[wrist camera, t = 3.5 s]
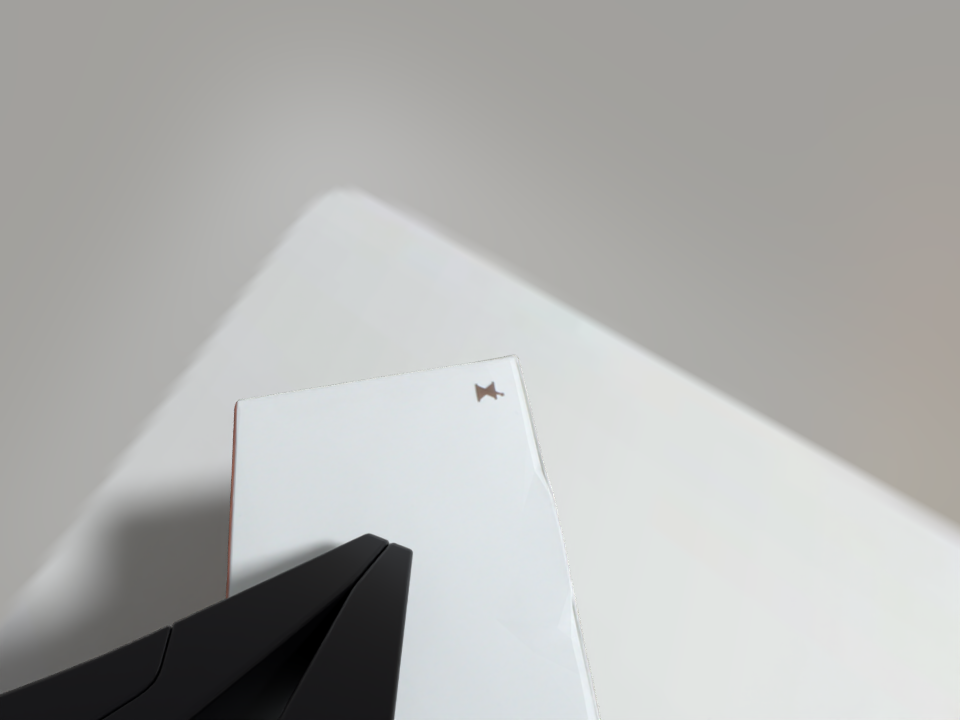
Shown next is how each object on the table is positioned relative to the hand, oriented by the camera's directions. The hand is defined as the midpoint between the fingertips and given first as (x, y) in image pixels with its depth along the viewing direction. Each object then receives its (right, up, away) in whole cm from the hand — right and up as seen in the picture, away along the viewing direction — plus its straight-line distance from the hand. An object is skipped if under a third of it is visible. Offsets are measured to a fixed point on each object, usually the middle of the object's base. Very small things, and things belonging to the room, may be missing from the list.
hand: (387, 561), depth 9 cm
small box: (0, -6, +12) cm, 14 cm away
